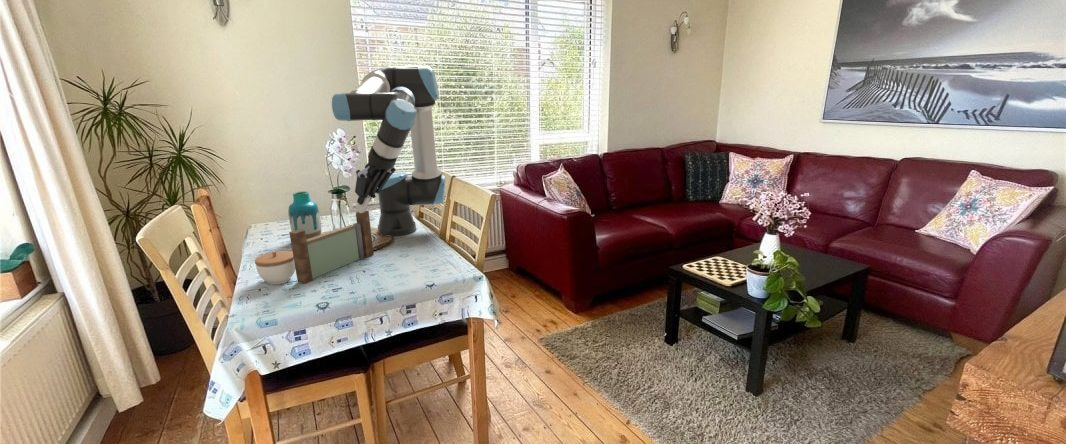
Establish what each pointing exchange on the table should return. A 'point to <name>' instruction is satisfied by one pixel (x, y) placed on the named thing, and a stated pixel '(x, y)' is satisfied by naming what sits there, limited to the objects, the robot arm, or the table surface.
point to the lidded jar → (276, 266)
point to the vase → (304, 215)
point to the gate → (335, 249)
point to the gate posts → (302, 249)
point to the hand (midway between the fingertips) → (359, 209)
